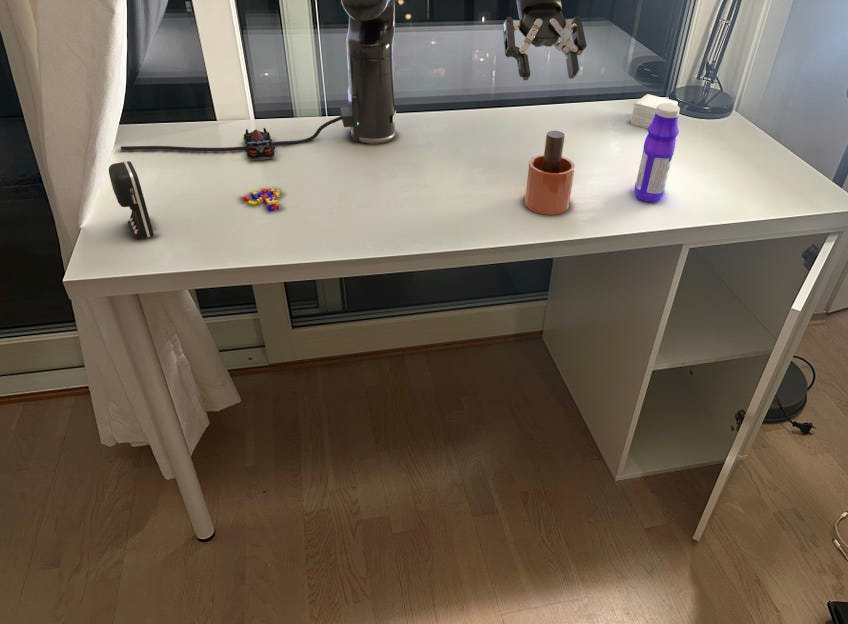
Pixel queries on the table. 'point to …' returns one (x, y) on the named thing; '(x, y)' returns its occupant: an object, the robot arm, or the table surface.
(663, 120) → the bottle
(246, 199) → the building blocks
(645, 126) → the small box
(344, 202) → the table surface
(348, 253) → the table surface
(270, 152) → the toy car
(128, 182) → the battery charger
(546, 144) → the dowel
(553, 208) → the holder
